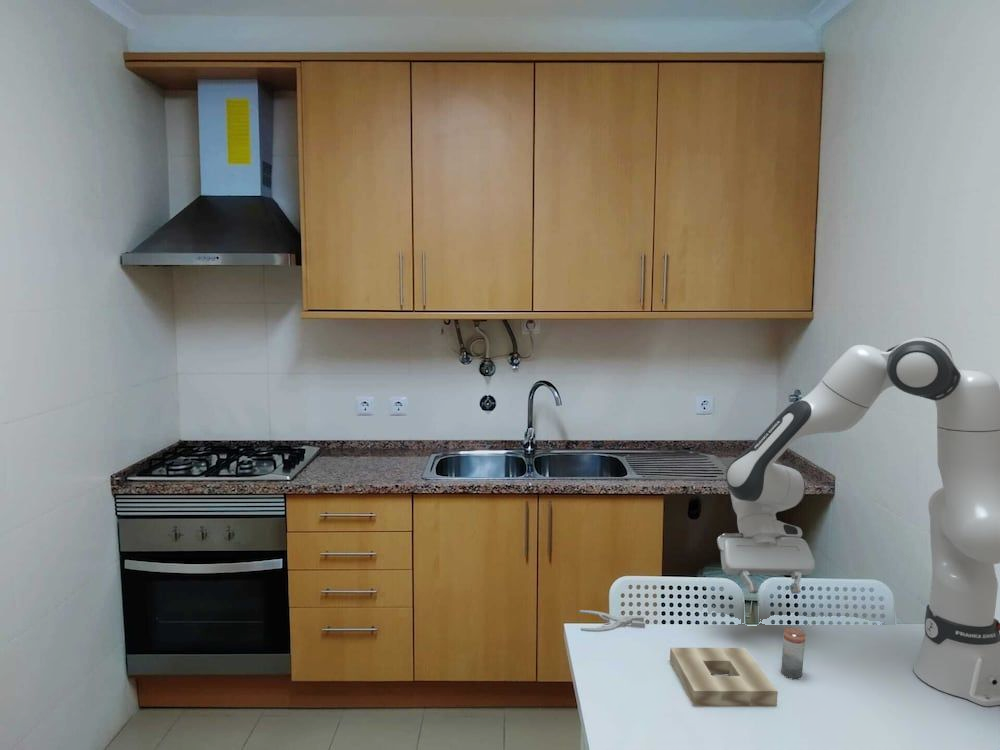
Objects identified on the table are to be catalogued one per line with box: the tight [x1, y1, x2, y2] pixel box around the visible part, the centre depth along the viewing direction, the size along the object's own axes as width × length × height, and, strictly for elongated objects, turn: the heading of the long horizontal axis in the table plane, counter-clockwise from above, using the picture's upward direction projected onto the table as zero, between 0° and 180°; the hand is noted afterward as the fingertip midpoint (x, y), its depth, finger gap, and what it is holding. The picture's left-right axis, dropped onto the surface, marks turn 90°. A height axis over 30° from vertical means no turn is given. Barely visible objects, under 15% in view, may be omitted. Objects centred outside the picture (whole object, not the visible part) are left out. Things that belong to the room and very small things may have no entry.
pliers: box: [579, 609, 646, 633], centre depth 163 cm, size 10×2×15 cm
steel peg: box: [780, 627, 807, 680], centre depth 142 cm, size 4×4×9 cm
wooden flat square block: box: [669, 647, 779, 707], centre depth 139 cm, size 16×16×3 cm
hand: (775, 592), depth 151 cm, fingers open, 8 cm apart
